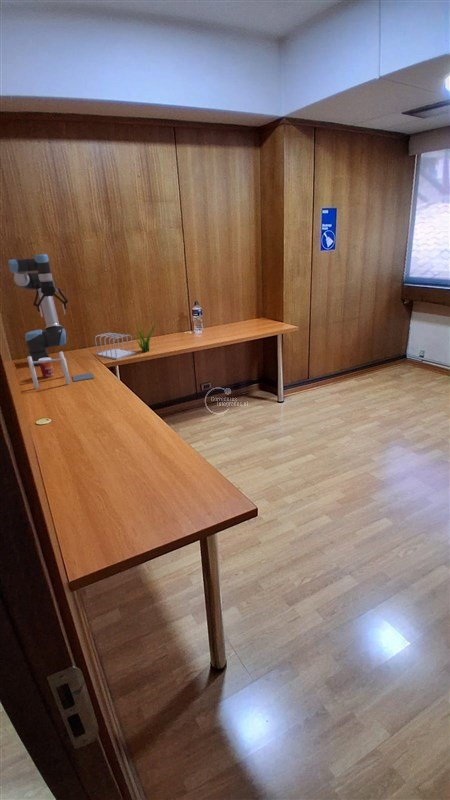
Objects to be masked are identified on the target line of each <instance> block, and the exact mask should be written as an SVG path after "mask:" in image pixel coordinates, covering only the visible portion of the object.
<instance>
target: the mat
mask: <svg viewBox="0 0 450 800" xmlns="http://www.w3.org/2000/svg"><path fill="white" fill-rule="evenodd" d="M93 379H95V377H94V374H93V372H89V373H82V374H76V375H72V380H73V383H75V382H81V381H87V380H93Z"/></svg>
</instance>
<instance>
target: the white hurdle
mask: <svg viewBox="0 0 450 800" xmlns="http://www.w3.org/2000/svg"><path fill="white" fill-rule="evenodd" d="M58 356H59V358H51V360H42V361H34V362H33V361H32V357H31V356H29V355H28V356H27V357H26V358H27V363H28V367H29V370H30V376H31V379H32V383H33V387H34V389H35V390H38V389H40V385H39V382H38V378H37V377H38V376H37V373H36V369H35V366H34V364H35V363H43V362H52V363H53V362H58V361H59V362H60V365H61V369H62V374H63V377H64V379H65V380H64V381H65V383H66V385H68V386H69V385H71V384H72V383H71V379H70V374H69V370H68V364H67V359H66V357H65V356H64V352H63V351H59V352H58Z"/></svg>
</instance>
